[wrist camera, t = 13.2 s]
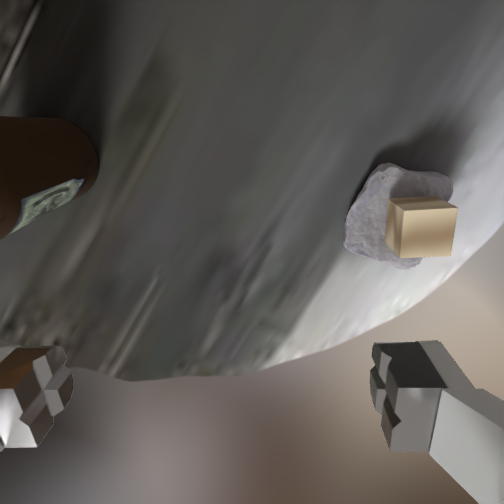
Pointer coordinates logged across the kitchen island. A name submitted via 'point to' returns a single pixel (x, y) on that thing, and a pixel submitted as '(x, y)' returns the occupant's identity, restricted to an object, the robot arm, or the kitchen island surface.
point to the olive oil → (41, 168)
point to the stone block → (375, 209)
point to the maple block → (420, 226)
